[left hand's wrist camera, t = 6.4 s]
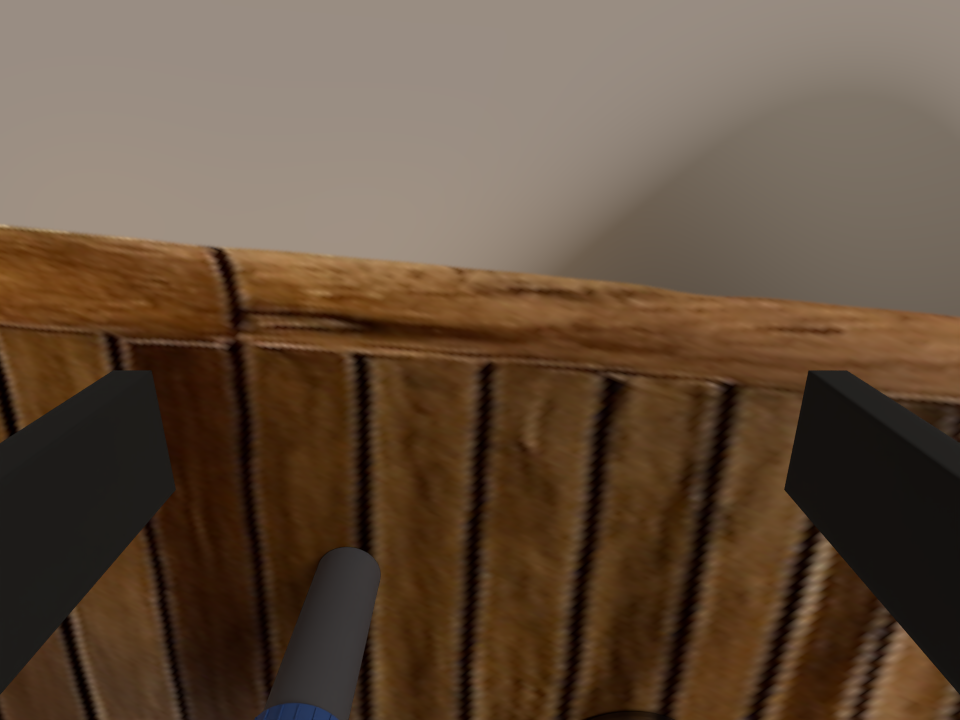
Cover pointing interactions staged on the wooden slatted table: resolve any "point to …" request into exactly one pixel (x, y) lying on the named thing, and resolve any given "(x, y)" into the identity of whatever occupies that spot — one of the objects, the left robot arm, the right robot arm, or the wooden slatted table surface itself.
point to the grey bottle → (330, 634)
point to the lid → (295, 713)
